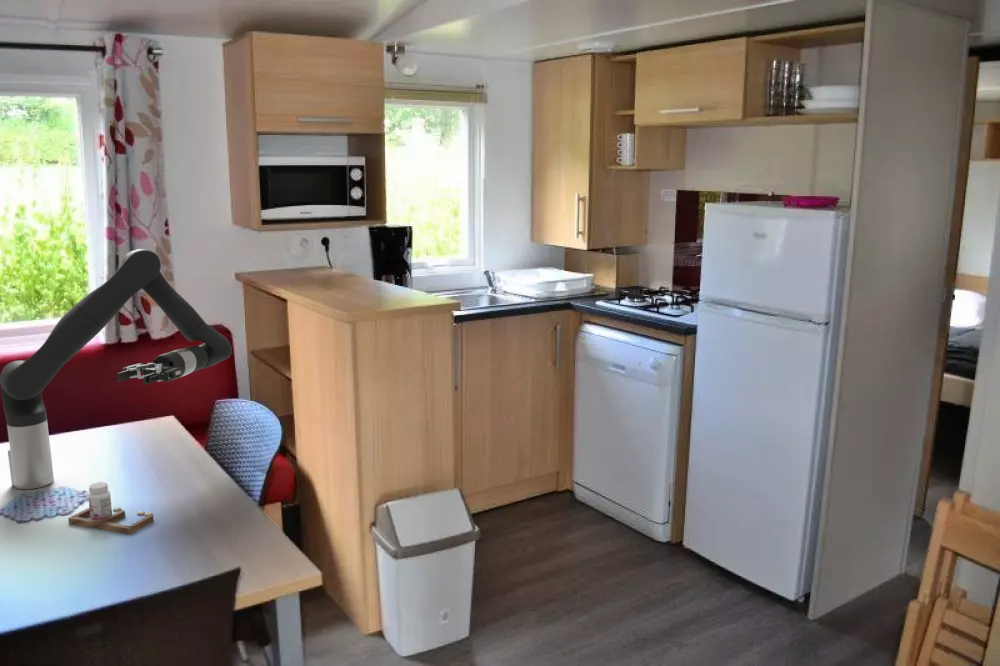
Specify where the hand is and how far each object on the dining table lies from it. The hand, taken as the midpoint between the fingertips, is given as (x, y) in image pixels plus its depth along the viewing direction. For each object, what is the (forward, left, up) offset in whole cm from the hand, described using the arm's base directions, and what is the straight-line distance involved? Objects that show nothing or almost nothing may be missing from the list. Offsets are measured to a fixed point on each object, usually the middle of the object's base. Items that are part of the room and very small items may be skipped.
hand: (131, 379), depth 210 cm
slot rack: (+8, -18, -30) cm, 36 cm away
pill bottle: (+4, -18, -30) cm, 35 cm away
